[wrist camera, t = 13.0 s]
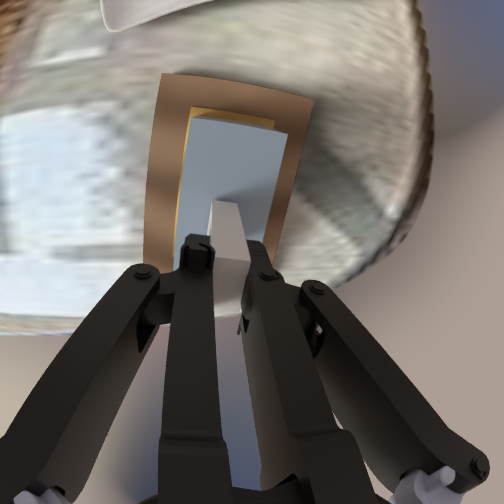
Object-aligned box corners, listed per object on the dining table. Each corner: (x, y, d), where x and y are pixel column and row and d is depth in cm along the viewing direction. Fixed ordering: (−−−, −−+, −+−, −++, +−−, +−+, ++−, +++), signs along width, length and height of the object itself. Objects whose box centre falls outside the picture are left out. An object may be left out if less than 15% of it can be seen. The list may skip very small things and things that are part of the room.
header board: (166, 75, 19) (151, 66, 14) (306, 100, 21) (332, 99, 16) (147, 263, 27) (135, 299, 22) (262, 276, 29) (272, 312, 24)
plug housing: (239, 260, 26) (247, 302, 20) (179, 253, 24) (171, 295, 19) (268, 126, 20) (288, 134, 15) (197, 115, 19) (191, 117, 14)
